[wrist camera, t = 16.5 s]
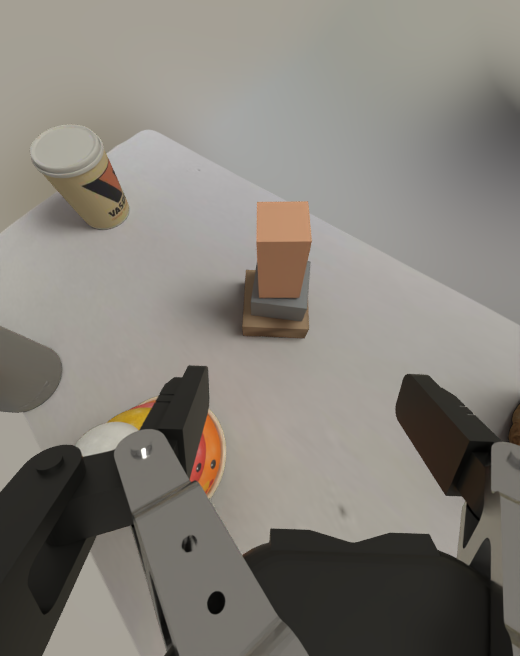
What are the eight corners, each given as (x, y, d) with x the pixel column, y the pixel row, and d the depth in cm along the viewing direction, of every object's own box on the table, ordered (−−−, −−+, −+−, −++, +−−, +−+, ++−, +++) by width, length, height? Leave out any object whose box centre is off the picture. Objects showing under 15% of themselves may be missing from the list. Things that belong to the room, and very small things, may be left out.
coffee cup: (126, 236, 47) (86, 172, 36) (71, 231, 47) (15, 166, 36) (140, 194, 50) (108, 125, 39) (89, 190, 51) (43, 119, 39)
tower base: (243, 336, 41) (242, 326, 38) (246, 283, 45) (245, 269, 41) (304, 339, 41) (308, 329, 38) (302, 286, 45) (307, 272, 41)
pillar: (259, 297, 34) (256, 241, 25) (259, 264, 36) (257, 202, 27) (299, 297, 34) (311, 241, 25) (297, 264, 36) (308, 201, 27)
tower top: (251, 315, 38) (250, 301, 34) (257, 271, 41) (258, 255, 37) (301, 321, 38) (307, 308, 34) (305, 277, 41) (310, 261, 37)
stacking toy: (170, 552, 31) (54, 710, 13) (87, 465, 34) (-101, 494, 16) (250, 443, 35) (247, 449, 17) (170, 374, 38) (96, 318, 20)
